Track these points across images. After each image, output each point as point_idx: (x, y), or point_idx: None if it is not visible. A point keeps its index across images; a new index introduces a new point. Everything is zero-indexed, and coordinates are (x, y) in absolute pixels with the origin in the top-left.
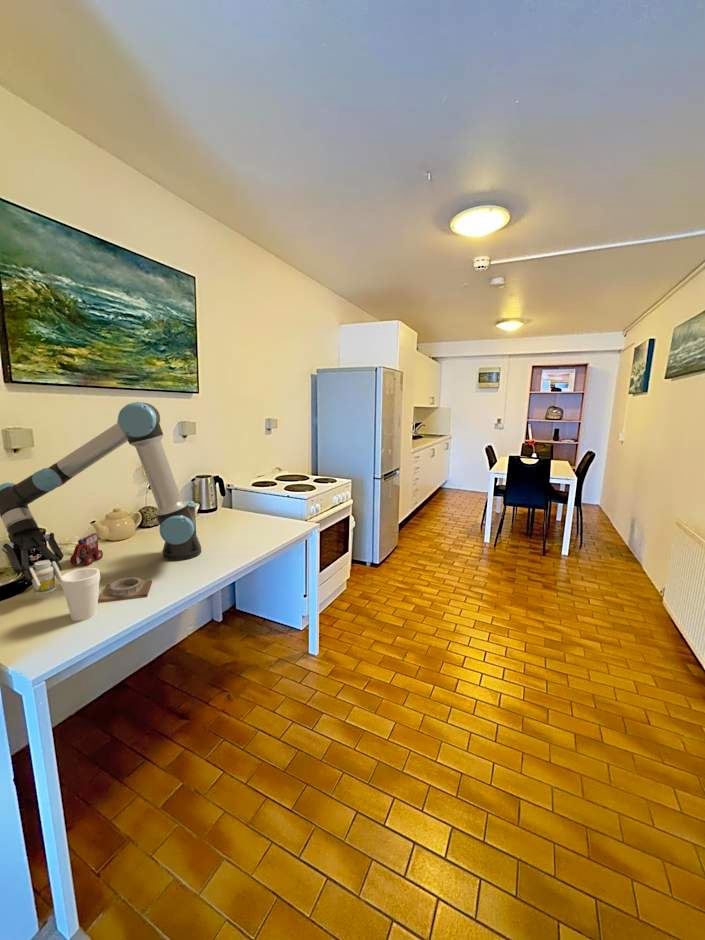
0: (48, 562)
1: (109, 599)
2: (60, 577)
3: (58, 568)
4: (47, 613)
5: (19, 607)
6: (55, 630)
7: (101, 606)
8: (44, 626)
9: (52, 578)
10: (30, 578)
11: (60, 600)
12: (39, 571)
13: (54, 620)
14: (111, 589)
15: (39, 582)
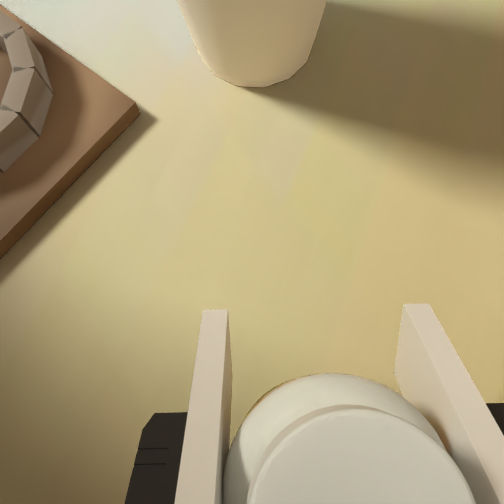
0: (297, 428)
1: (91, 74)
2: (225, 314)
3: (192, 397)
4: (373, 209)
5: None
6: (403, 3)
7: (154, 60)
8: (428, 76)
9: (273, 389)
10: (496, 403)
11: (257, 330)
12: (408, 421)
13: (374, 99)
14: (33, 83)
15: (413, 323)
